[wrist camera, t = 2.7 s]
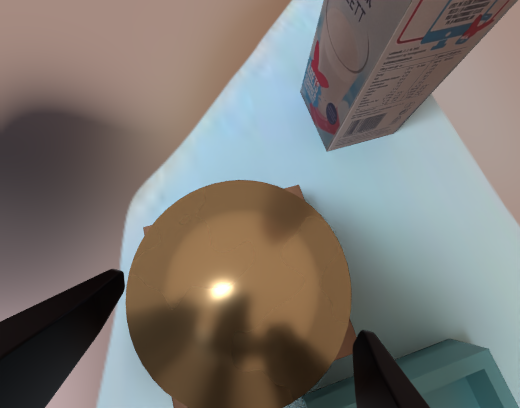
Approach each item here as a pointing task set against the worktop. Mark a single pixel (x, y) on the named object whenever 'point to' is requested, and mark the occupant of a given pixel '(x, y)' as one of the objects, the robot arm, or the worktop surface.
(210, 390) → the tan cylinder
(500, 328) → the worktop surface
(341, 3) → the juice carton
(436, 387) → the teal tray
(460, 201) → the worktop surface
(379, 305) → the worktop surface
